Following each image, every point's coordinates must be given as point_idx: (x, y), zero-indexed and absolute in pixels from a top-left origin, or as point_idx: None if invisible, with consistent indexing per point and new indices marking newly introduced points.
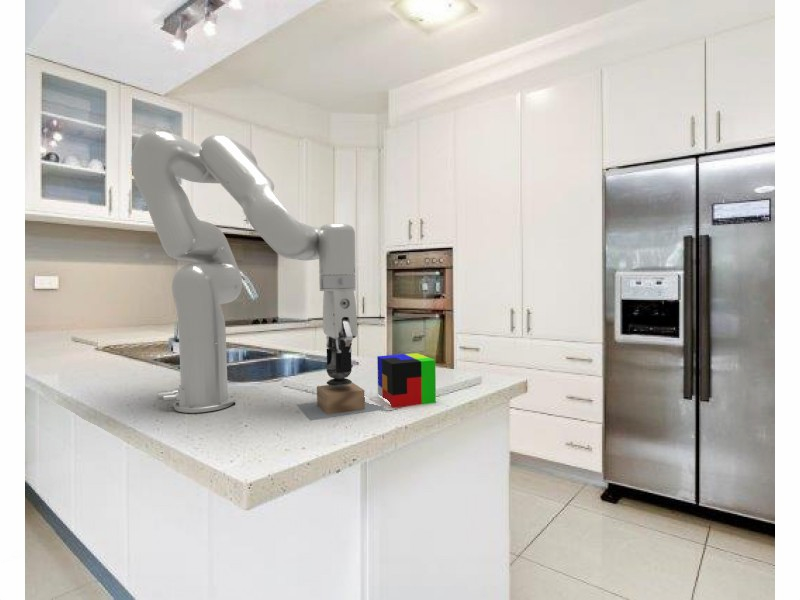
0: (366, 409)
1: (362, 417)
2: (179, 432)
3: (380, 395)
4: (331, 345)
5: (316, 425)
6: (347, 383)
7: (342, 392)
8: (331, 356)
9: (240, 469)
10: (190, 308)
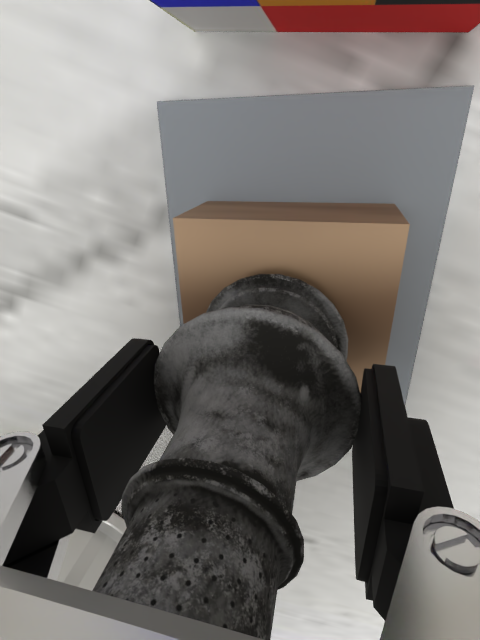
0: (406, 197)
1: (464, 242)
2: (279, 621)
3: (232, 23)
4: (62, 530)
5: (433, 420)
6: (339, 324)
7: (378, 350)
8: (131, 454)
9: None
10: None
